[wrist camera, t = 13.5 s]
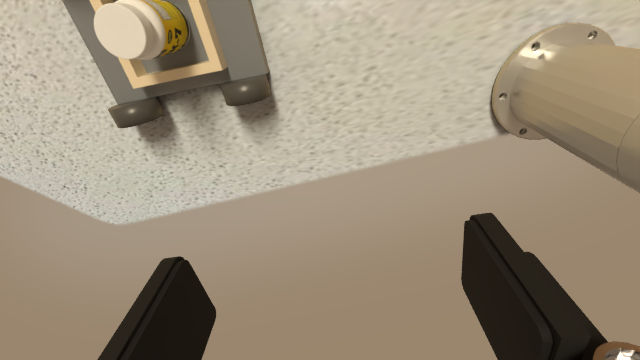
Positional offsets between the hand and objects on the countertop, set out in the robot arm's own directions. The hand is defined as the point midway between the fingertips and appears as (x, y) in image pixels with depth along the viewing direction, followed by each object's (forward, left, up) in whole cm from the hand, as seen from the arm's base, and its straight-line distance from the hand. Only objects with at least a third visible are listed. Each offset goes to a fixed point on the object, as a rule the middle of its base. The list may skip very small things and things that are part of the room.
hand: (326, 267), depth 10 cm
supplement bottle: (+15, -9, -27) cm, 32 cm away
